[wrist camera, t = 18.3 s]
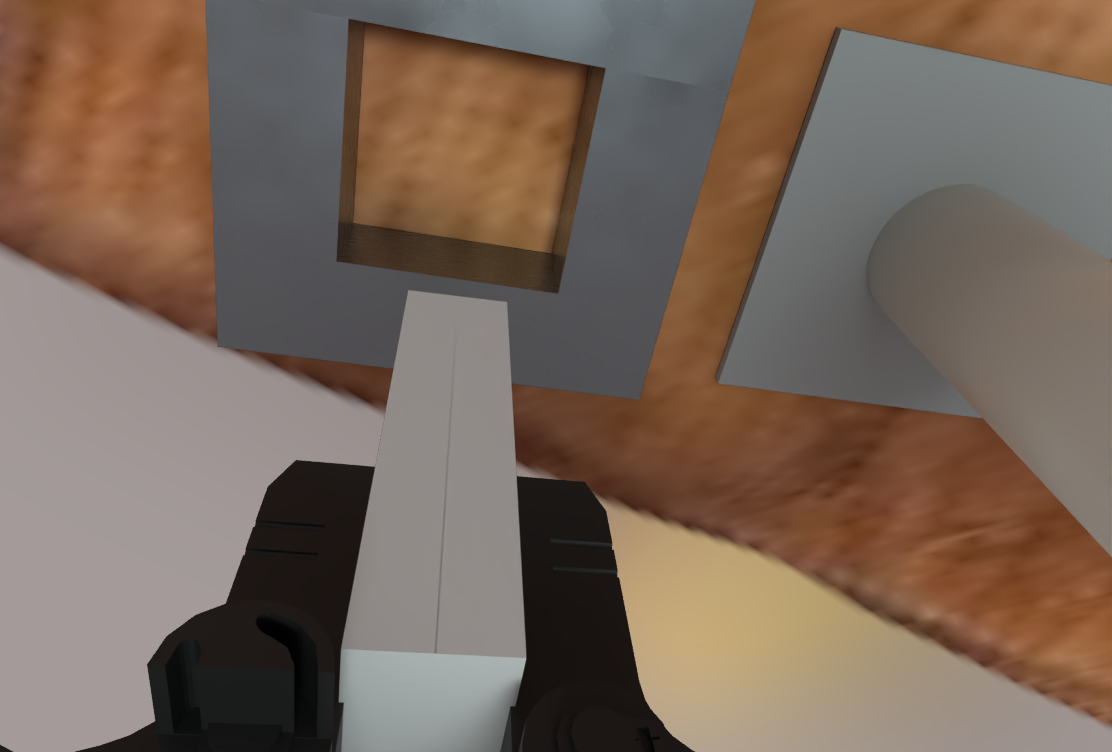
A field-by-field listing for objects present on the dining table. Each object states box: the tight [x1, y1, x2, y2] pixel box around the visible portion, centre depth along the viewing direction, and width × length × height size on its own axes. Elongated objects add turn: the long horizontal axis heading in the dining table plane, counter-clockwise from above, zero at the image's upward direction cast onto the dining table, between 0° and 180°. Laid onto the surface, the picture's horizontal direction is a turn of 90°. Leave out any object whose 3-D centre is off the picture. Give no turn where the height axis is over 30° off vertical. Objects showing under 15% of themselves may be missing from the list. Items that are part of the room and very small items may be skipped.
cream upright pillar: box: [867, 184, 1112, 557], centre depth 19 cm, size 6×6×16 cm
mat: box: [716, 27, 1112, 418], centre depth 26 cm, size 12×12×1 cm
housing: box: [206, 0, 756, 400], centre depth 22 cm, size 13×13×3 cm
